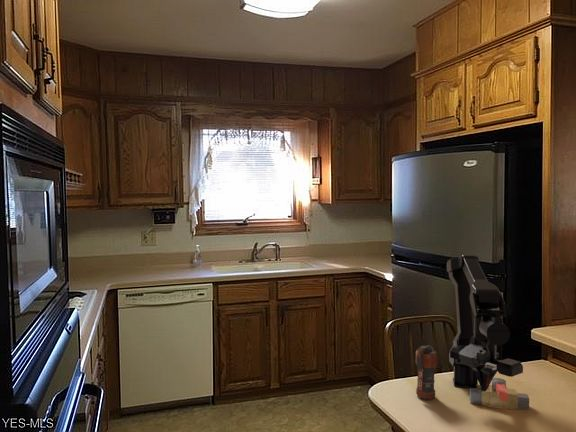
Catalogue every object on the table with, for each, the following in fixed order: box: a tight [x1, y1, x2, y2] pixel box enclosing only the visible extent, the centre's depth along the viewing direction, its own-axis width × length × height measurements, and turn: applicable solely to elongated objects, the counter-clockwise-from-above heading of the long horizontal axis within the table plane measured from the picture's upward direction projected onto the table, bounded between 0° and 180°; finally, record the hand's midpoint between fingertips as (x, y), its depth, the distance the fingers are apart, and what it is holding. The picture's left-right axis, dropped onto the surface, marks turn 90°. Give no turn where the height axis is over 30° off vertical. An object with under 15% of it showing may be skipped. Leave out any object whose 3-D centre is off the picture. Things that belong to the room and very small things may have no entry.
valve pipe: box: [469, 384, 530, 411], centre depth 135 cm, size 15×5×4 cm, turn 74°
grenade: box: [415, 345, 438, 401], centre depth 139 cm, size 6×8×15 cm
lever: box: [491, 377, 508, 401], centre depth 131 cm, size 11×4×2 cm, turn 164°
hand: (484, 390), depth 131 cm, fingers closed
